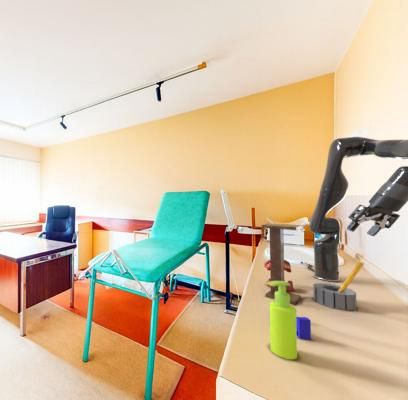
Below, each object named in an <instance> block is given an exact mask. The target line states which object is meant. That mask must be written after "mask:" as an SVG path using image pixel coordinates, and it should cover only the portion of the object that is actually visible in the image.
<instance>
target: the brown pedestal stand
mask: <svg viewBox="0 0 408 400" xmlns="http://www.w3.org/2000/svg"><path fill="white" fill-rule="evenodd" d="M262 228H263V229H269V260H270V271H269V272H270V279H271V281H285V270H284V260H285V243H284V242H285V241H284V236H285V235H284V230H286V231H287V230H288V231H298V230H302V229H304V225H302V224H289V223H288V224H287V223H273V222H272V223H271V222H269V223H265V224H261V229H262ZM276 291H278V286H274V287H273V286H271V288H270V290H269V291H267V292H266V293H265V297H266V298H270V299H273V300H275V292H276ZM286 293H288V294H289V295H290V305H292V306H295V305H297V303H298V302H299V301H300V300H302V295H301V294H297V293H293V292H286Z"/></svg>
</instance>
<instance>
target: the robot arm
mask: <svg viewBox="0 0 408 400" xmlns="http://www.w3.org/2000/svg"><path fill="white" fill-rule="evenodd" d="M361 156H362V157H363V156H375V157H378V158H381V159H390V160H408V139H374V138H368V137H362V136H349V137H338V138H336V139H334V140H332V142H331V143H330V145H329V148H328V153H327V160H326V166H325V172H324V175H323V180H322V182H321V185H320V189H319V194H318V198H317V201H316V205H315V208H314V209H313V212H312V215H311V216H310V217H311V218H310V220H309V223H308V224H309V225H308V228H309V231H310V232H311V233H312V234H315V235H324V236H323V237H321V238H319V239H315V240H314V241H313V260H314V261H313V262H314V264H313V265H314V266H313V265H312V264H311V263H309V264H307V265H308V266H307V268H308V269H309V270H310V271H312V272H314V275H313V276H314V278H316V279H318V280H320V281H321V280H322V281H326V282H333V283H335V282H336V283H337V282H340V262H339V245H340V241H341V224H340V221H339V219H337V218H336V217H334V216H333V217H332V216H327V215H328V213H329V212H331V210H332V209H333V208H334V207H336V206H337V205H338V204H340V203H341V202H342V201H343V200H344V199H345V197H346V195H347V192H348V190H349V181H348V179H347V178H346V176H345V174H344V172H343V169H342V166H343V165H342V164H343V161H344V159H345V158H347V159H349V158H356V157H361ZM368 203H369V205H368V206H365V205H362V204H359V205H358V206H356V208H355V209H354V210H352V212H351V213H350V214H349V216H348V218H349V219H350V220H351V222H349V224H348V225H347V226H346V230H347V231H349V232H355V231H356V230H357V229H358V228H359V226H360V225H361V224H363V223H364V222H369V221H373V225H372V226H371V227H370V228H369V229H368V231H366V234H367V235H369V236H370V237H375V236H376V235H378V233H379V232H380V231H381V230H383V229H390V228H391V227H393V225H394V224H395V223H396V222H397V221H398V219H399V218H400V217H401V215H400V214H399V213H398V212H400V210H402V208H403V207H404V206H405V205H406V204H407V203H408V165H403V166H399V167H398V168H397V169H396V170H394V172H393V173H392V174H391V176H389V177H388V179H387V180H386V181H385V182H384V183H383V184H382V185H381V186H380V187H379V189H378V190H377V191H376V192H375V193H374V194H373V195H372V197H371V198H370V199H369V200H368ZM300 264H304V263H303V262H302V261H300ZM310 264H311V265H310ZM311 267H314V268H311Z"/></svg>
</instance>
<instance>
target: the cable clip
mask: <svg viewBox="0 0 408 400" xmlns="http://www.w3.org/2000/svg"><path fill="white" fill-rule="evenodd" d="M311 320H312V319H310V318H309V317H305V316H296V328H297V338H299V339H301V340H312V327H311V326H312V325H311V324H312V323H311Z"/></svg>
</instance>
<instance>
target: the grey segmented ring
mask: <svg viewBox="0 0 408 400" xmlns="http://www.w3.org/2000/svg"><path fill="white" fill-rule="evenodd" d="M341 286H342V285H337V284H332V283H326V282H324V283H323V282H315V283H313V285H312V292H313V293H312V294H313V295H312V297H313V300H314V301H315V302H316V303H318V304H320V305H322V306H323V305H324V306H325V307H328V308H331V309H336V310H341V311H355V310H356V309H357V292H356V291H354V290H353V289H351V288H348V287H347V288H346V289H345V291H344V292H338V290H339V289H340V287H341Z"/></svg>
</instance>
